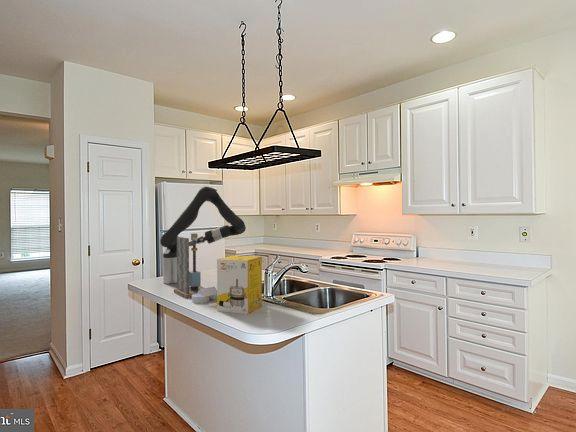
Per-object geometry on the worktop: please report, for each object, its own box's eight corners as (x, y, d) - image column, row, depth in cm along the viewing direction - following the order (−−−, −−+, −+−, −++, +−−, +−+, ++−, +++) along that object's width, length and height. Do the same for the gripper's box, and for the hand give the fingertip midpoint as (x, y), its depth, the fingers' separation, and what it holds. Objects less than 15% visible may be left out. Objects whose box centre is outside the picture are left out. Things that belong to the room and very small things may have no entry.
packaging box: (217, 311, 171) (216, 259, 171) (233, 302, 187) (233, 255, 186) (247, 314, 166) (247, 260, 166) (261, 305, 181) (261, 256, 181)
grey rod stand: (174, 292, 210) (173, 233, 210) (199, 288, 220) (199, 232, 219) (185, 298, 196) (185, 235, 195) (212, 294, 206) (212, 233, 205)
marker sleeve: (188, 285, 209) (188, 271, 209) (196, 284, 212) (196, 270, 212) (192, 286, 205) (191, 273, 205) (200, 285, 208) (200, 272, 208)
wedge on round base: (210, 297, 199) (188, 301, 191) (210, 285, 199) (188, 288, 191) (218, 300, 192) (196, 304, 184) (218, 287, 192) (196, 291, 184)
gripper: (213, 229, 225) (188, 238, 223) (210, 229, 211) (183, 239, 209) (217, 241, 225) (191, 249, 223) (214, 241, 211) (188, 251, 209)
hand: (188, 244), depth 216 cm, fingers open, 7 cm apart
